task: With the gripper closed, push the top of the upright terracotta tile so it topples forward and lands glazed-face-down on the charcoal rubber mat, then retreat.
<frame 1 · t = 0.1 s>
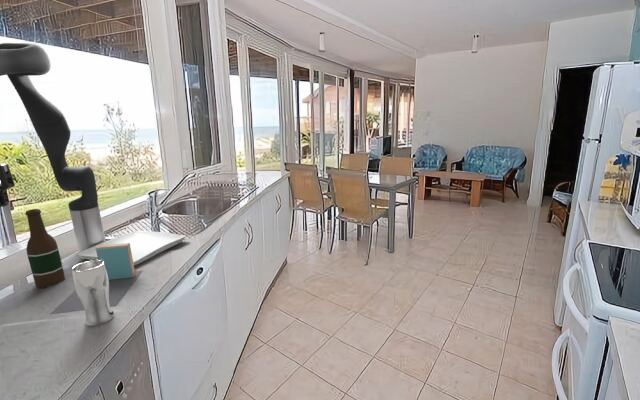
beer glass: (100, 320, 84), on the countertop
beer bottle: (51, 283, 104), on the countertop
tile: (119, 277, 105), resting on mat
mat: (102, 290, 98), on the countertop
square plate: (135, 253, 127), on the countertop
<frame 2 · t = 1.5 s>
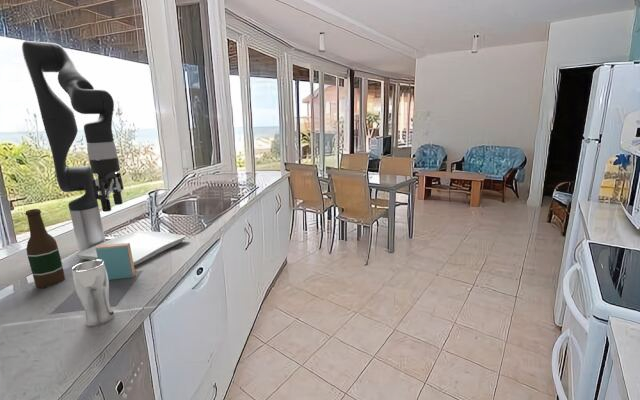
hand: (113, 207, 105), 22 cm above the countertop, fingers open, 8 cm apart
nothing on the countertop moved.
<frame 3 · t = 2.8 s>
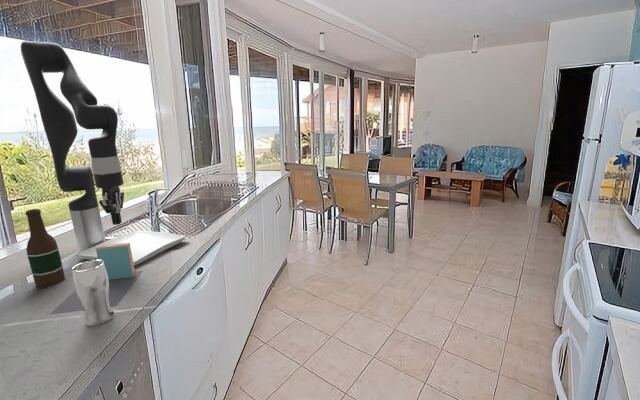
hand: (117, 223, 107), 17 cm above the countertop, fingers closed
nothing on the countertop moved.
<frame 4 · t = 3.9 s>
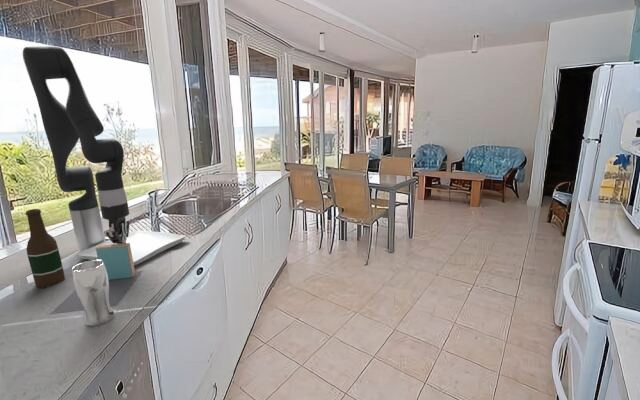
hand: (123, 252, 109), 7 cm above the countertop, fingers closed
nothing on the countertop moved.
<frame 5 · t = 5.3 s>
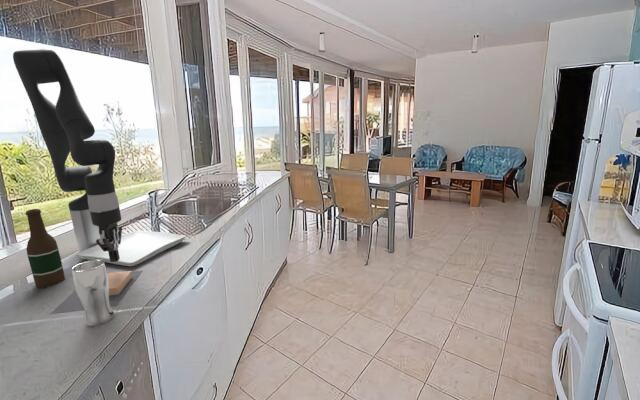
hand: (115, 260, 102), 7 cm above the countertop, fingers closed
tile: (116, 275, 103), point 2 cm above the countertop, tilted 90°, touching mat
everything else where it was.
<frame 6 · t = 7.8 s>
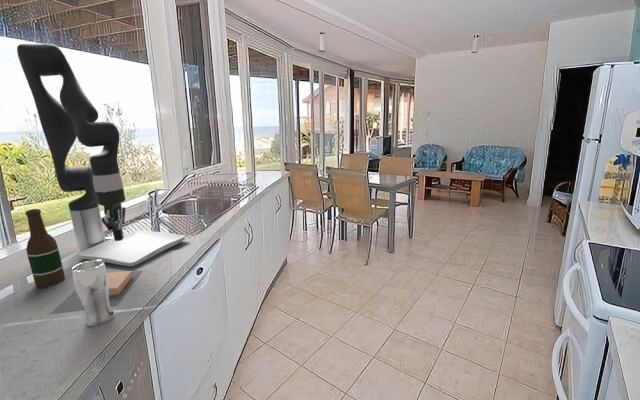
hand: (119, 239, 106), 12 cm above the countertop, fingers closed
nothing on the countertop moved.
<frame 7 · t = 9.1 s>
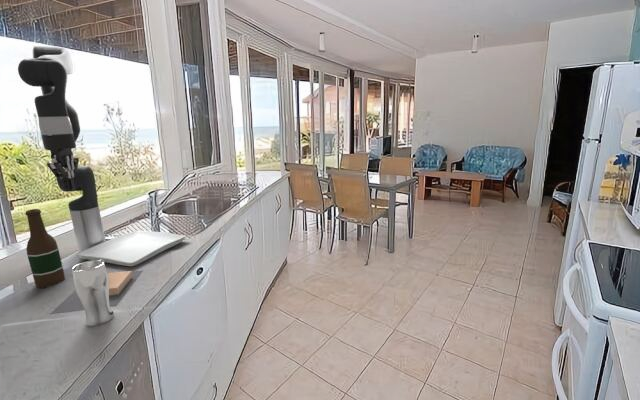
hand: (70, 190, 101), 29 cm above the countertop, fingers closed
nothing on the countertop moved.
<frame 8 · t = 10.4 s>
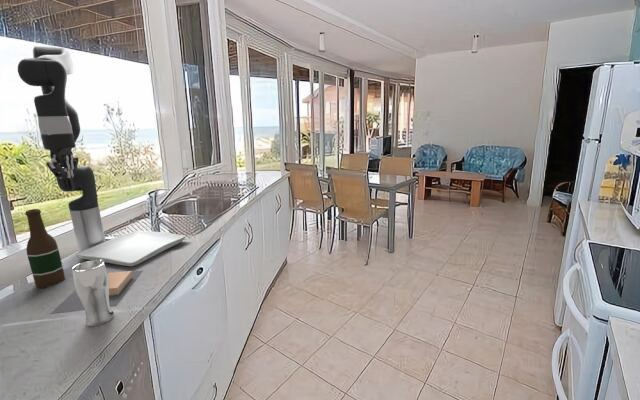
hand: (69, 190, 101), 29 cm above the countertop, fingers closed
nothing on the countertop moved.
at the end: tile tilted 90°; tile inside the target area on the mat (6.1 cm from its centre), point 1.7 cm above the mat's base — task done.
